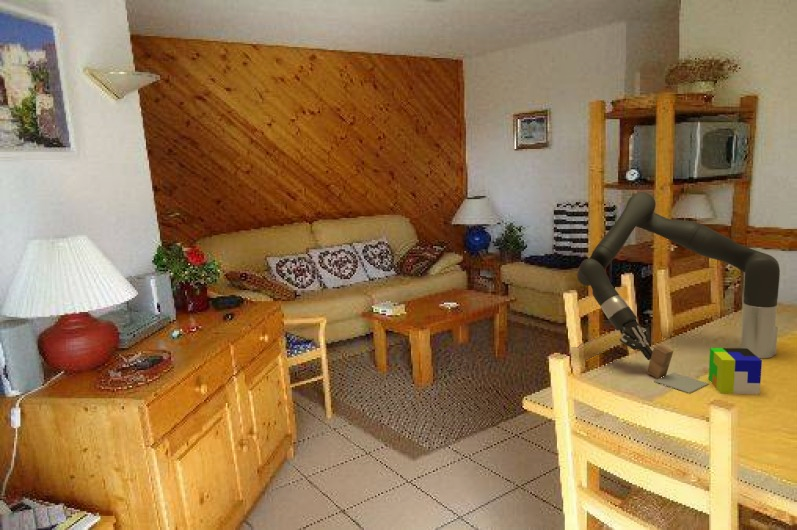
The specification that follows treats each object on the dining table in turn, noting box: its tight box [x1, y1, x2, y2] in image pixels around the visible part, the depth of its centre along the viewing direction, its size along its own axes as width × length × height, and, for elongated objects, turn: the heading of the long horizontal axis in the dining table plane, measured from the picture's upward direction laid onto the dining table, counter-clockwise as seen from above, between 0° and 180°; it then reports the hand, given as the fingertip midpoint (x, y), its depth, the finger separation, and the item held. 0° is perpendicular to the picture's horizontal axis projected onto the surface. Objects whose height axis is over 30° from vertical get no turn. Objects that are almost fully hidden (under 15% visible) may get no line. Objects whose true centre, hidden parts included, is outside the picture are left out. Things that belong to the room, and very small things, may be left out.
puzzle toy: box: [708, 347, 763, 395], centre depth 161 cm, size 10×10×10 cm
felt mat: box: [653, 372, 710, 394], centre depth 166 cm, size 10×11×1 cm
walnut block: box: [646, 344, 674, 380], centre depth 171 cm, size 4×4×9 cm
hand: (651, 358), depth 172 cm, fingers closed
